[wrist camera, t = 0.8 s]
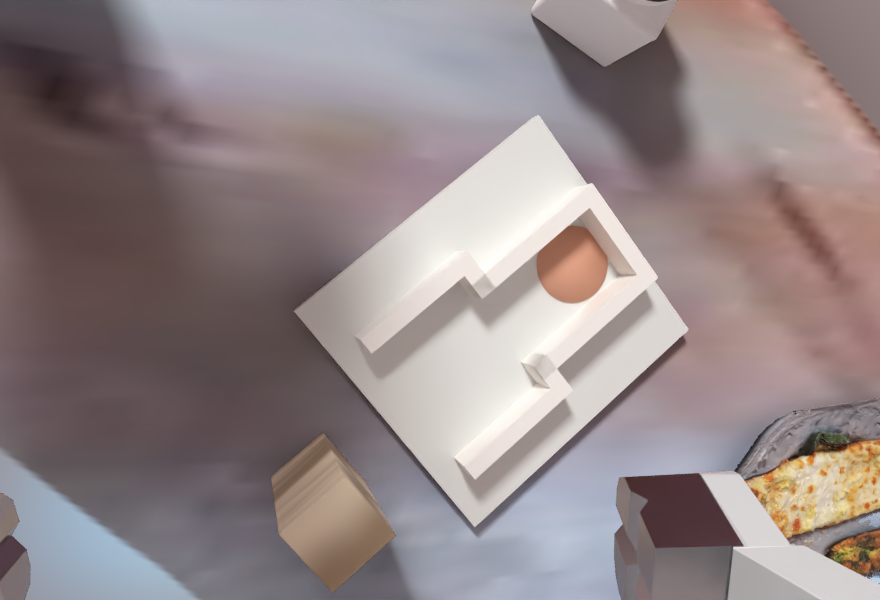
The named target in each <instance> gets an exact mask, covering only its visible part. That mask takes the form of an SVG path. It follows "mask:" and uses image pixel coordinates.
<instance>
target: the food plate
mask: <svg viewBox="0 0 880 600" xmlns="http://www.w3.org/2000/svg"><path fill="white" fill-rule="evenodd" d="M798 411H799V410H797V412H798ZM795 412H796V411H793V412H791V413H790V414H788V415H786V416H784V417H781V419H780V418H779V419H777V420H775V421H774V423H773V424H771V425H769V426H768V427H767V428H766V429H765V430H764V431H763V432H762V433H761V434H760V435H759V436H758V438H757V439H756V441H755V442H754V444H753V446H751V447H750V450H749V451H748V453H747V454H746V455H745V456H744V458H743V459H742V461H741V462H740V464H738V467H737V468H736V469H735V471H734V472H736V473H738V474H740V476H741V477H742V478H743V480H744V481H745V482H746V484H747V485H748V487H749V488H750V489H751V491H752V492H753V493H754V495H755V496H756V497H757V499H758V500H759V502H760V503H761V504H762V506H763V507H764V508H765V510H766V511H767V513H768V514H769V515H770V517H771V518H772V519H773V521H774V522H775V524H776V525H777V526H778V528H779V529H780V530H781V532H782V533H783V535H784V536H785V537H786V539H787V540H788V541H789V543H790V544H791V543H795V545H796V546H800V545H804V546H806V547H808V548H810V549H812V550H814V551H816V552H817V553H819V554H821V555H823V556H825V557H827V558H829V559H831V560H833V561H835V562H837V563H839V564H841V565H843V566H845V567H846V568H848V569H850V570H852V571H854V572H856V573H858V574H860V575H862V576H864V577H865V576H866V573H870V572H871V573H870V575H869V574H868V576H869V577H872V573H873V572H875V571H880V526H879V527H873V526H871V525H870V526H868V525H869V523H870V520H868V521H866V522H865V524H864V523H862V524H860V523H859V522H858V521H859V520H860V518H862V517H863V518H864V517H865V516H866V515H869V514H871V513H872V512H875V513H876V512H879V511H880V399H879V398H876V399H875V400H874V399H870V400H864V401H858V402H857V401H856V402H848V403H842V404H837V405H830V406H825V407H818V408H812V409H805V410H801V411H800V412H798V413H795ZM871 516H872V515H871ZM852 520H853V521H852ZM864 525H865V526H864ZM869 571H870V572H869ZM868 579H870V578H868ZM879 584H880V583H879Z"/></svg>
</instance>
